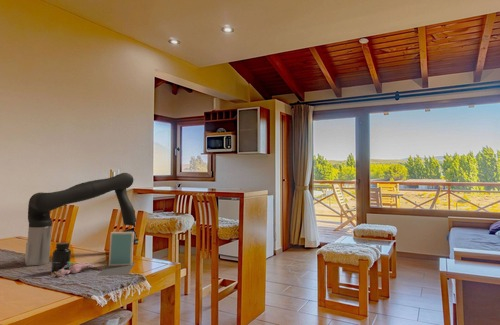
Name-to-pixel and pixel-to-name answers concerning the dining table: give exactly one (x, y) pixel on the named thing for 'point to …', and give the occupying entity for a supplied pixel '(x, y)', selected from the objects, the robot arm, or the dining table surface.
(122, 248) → the tile
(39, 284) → the dining table surface
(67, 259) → the supplement bottle
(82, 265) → the rabbit figure
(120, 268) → the mat
